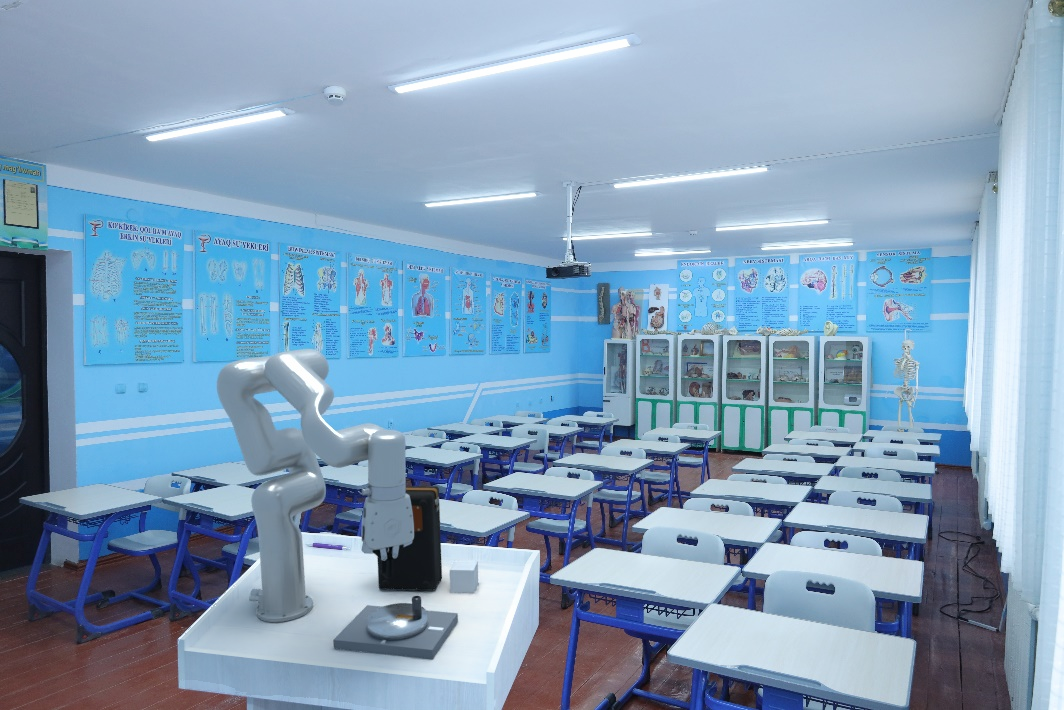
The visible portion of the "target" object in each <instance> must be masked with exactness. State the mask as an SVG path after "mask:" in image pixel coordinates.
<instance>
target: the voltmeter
mask: <svg viewBox="0 0 1064 710" xmlns="http://www.w3.org/2000/svg"><path fill="white" fill-rule="evenodd" d="M406 494H408V495H409V496H410V500H411V505H412V512H413V522H414V538H413V540H412V543H411V544H410V545H408V546H405V547H403V548H402V549H401V551H400V552H399V553H398V556H397V558H396V570H395V571H394V577H389V578H385V577H384V576H383V574H381V573H380V571H379V557H378V556H377V555H376V557H377V575H378V576H377V579H378V588H379V589H380V590H404V591H405V590H406V591H407V590H408V591H409V590H410V591H411V590H413V591H434V590H436V588H437V586H438V585H439V581H440V582H441V581H442V580H443V569H442V568H443V566H442V563H443V562H442V543H441V542H442V540H441V539H442V538H441V517H440V516H441V513H440V510H441V509H440V488H439V487H438V486H436V485H434V486H433V485H432V486H430V485H427V486H425V485H423V486H422V485H420V486H419V485H406ZM386 553H388V548H386Z"/></svg>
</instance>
